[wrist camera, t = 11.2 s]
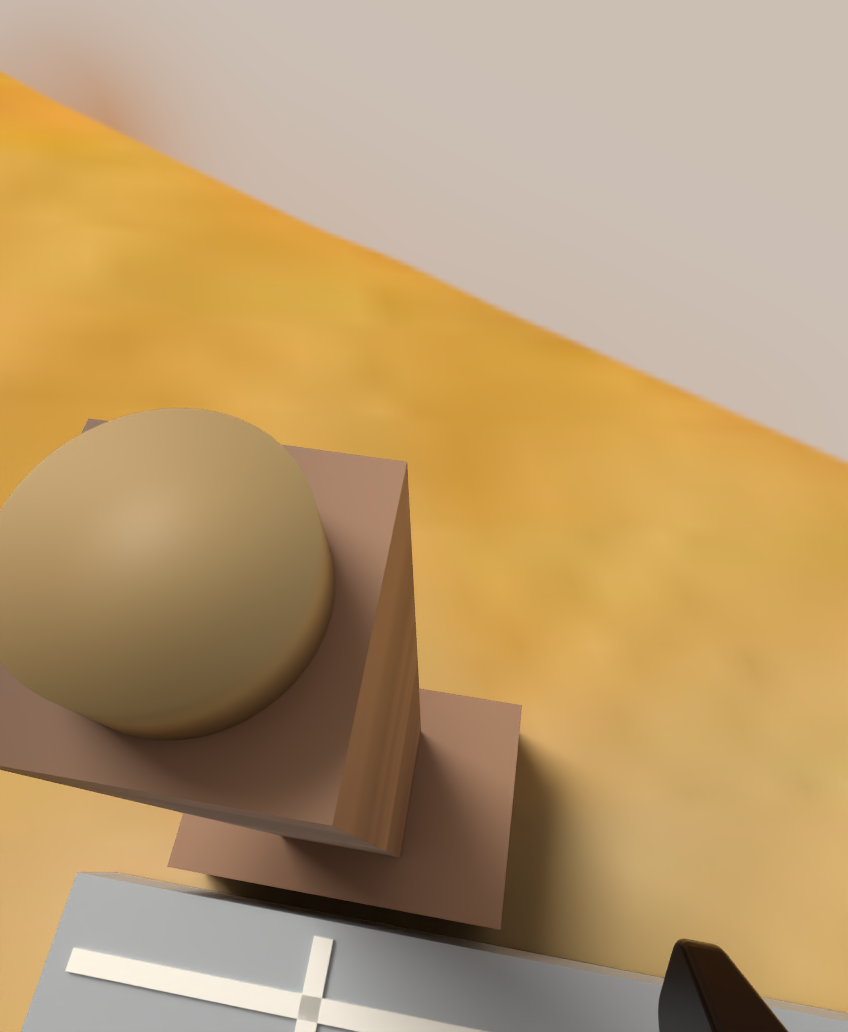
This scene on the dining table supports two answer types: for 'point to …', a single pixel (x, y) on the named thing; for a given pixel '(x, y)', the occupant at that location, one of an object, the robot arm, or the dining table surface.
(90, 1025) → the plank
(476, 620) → the dining table surface
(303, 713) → the newel post
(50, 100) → the dining table surface
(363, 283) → the dining table surface
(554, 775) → the dining table surface
